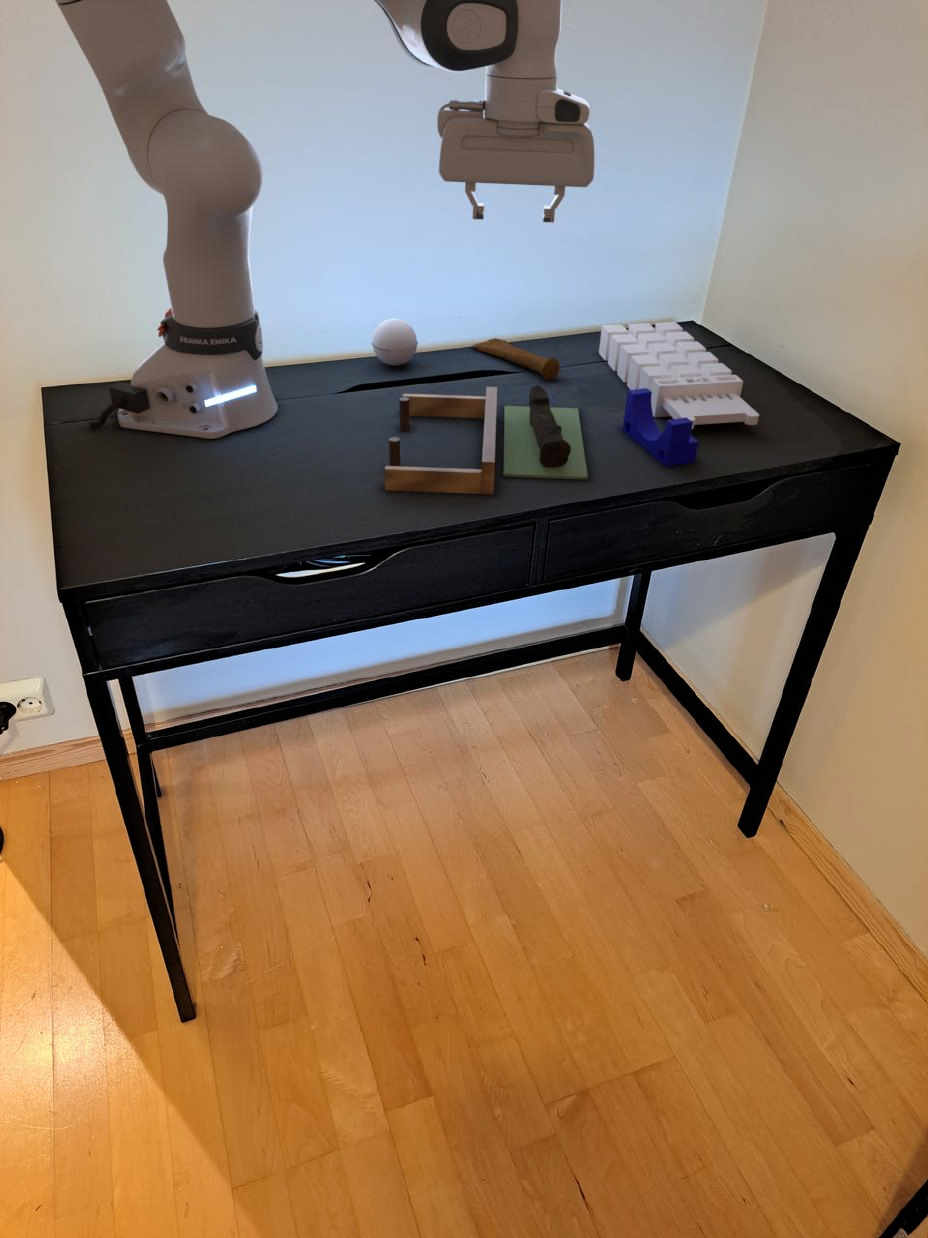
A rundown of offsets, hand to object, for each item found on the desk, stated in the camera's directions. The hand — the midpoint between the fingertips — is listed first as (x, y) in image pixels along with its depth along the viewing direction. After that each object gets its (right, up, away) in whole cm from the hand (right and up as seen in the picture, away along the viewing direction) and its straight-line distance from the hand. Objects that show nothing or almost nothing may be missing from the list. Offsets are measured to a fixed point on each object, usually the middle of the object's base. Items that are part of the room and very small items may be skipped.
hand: (513, 219), depth 121 cm
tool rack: (-9, -31, +2) cm, 32 cm away
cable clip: (+20, -30, +5) cm, 36 cm away
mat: (+5, -29, +5) cm, 30 cm away
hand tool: (+4, -28, +5) cm, 29 cm away
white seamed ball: (-17, -12, +27) cm, 34 cm away
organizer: (+26, -18, +21) cm, 38 cm away
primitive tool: (+2, -11, +30) cm, 32 cm away
